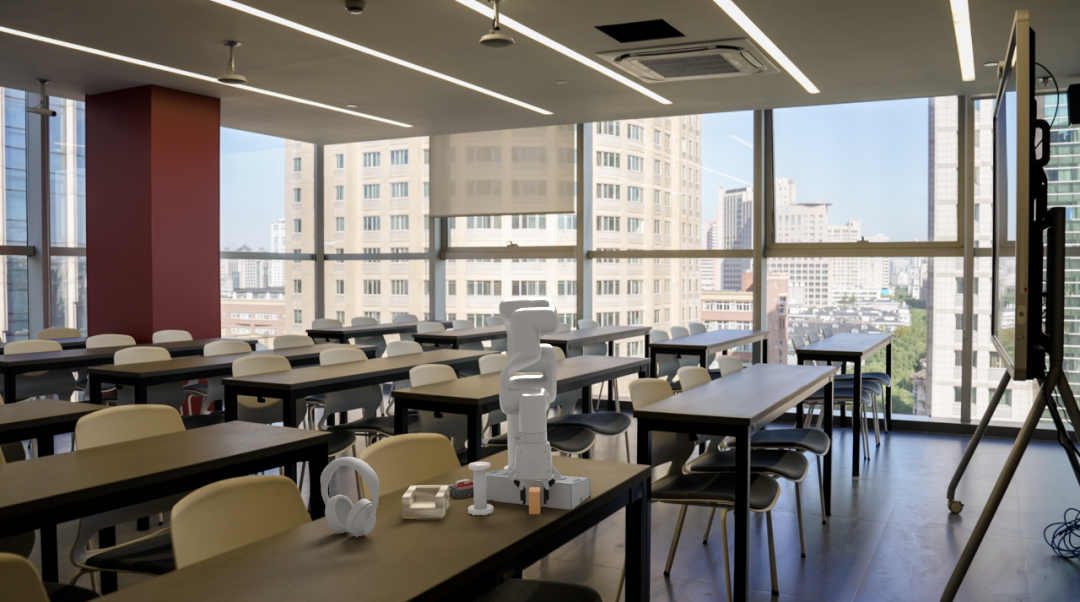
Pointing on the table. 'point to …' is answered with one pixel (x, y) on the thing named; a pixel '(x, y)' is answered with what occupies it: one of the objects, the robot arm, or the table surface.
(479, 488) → the bobbin
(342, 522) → the headphones
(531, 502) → the orange rectangular block
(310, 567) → the table surface
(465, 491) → the toolbox
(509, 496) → the warehouse
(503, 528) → the table surface
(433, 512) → the beige armchair
